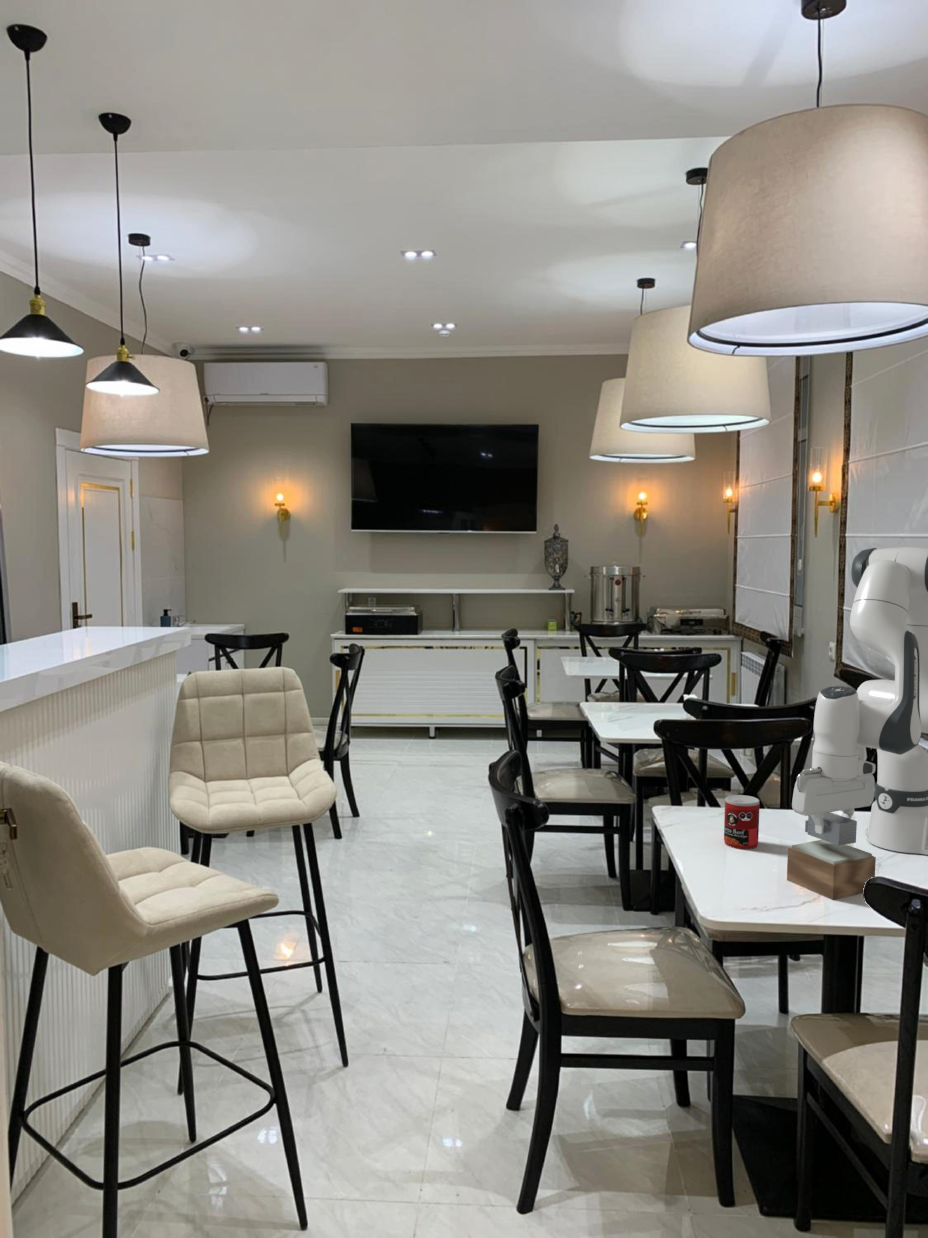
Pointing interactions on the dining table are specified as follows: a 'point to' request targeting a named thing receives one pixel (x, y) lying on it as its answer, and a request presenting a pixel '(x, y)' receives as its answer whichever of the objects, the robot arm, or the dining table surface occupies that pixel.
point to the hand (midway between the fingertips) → (831, 831)
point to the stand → (830, 868)
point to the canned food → (741, 821)
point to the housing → (834, 829)
